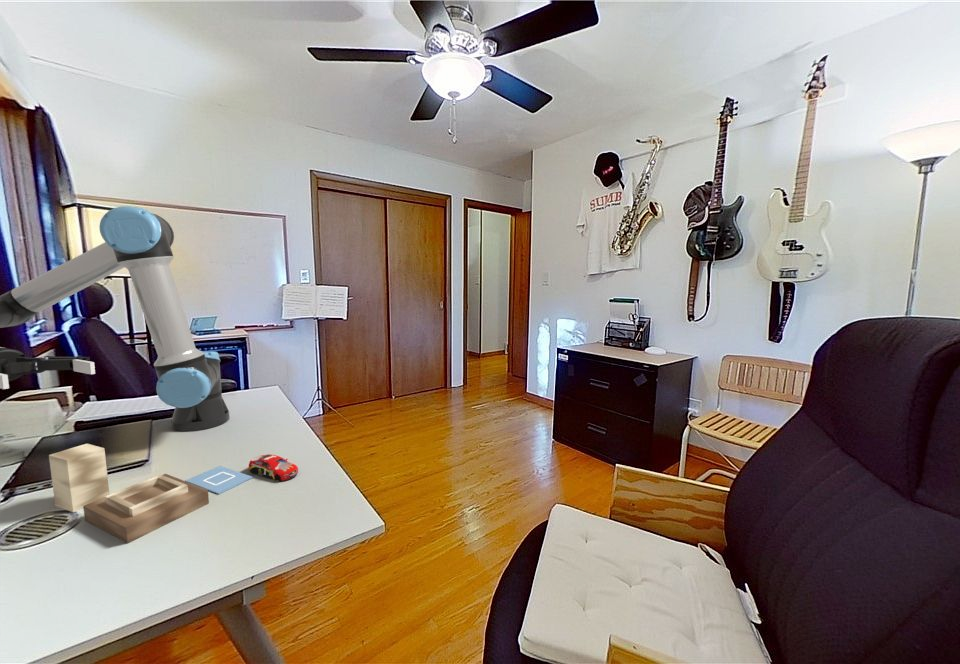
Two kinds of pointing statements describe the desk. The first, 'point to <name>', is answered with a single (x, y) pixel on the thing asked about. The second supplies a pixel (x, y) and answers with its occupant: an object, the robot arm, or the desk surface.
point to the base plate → (145, 506)
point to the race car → (273, 467)
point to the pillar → (79, 476)
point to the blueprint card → (219, 479)
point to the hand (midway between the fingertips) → (52, 374)
